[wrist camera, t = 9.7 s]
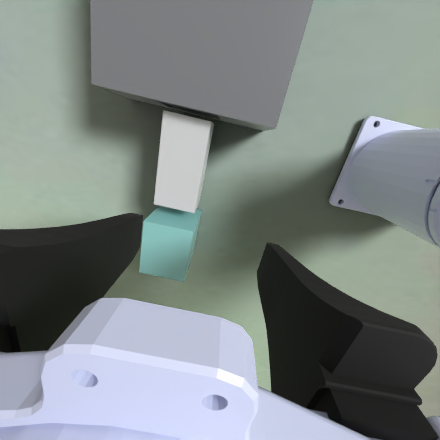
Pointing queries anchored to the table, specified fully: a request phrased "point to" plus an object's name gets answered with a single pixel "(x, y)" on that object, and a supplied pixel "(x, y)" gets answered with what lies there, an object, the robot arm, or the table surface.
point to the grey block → (200, 54)
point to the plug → (176, 197)
